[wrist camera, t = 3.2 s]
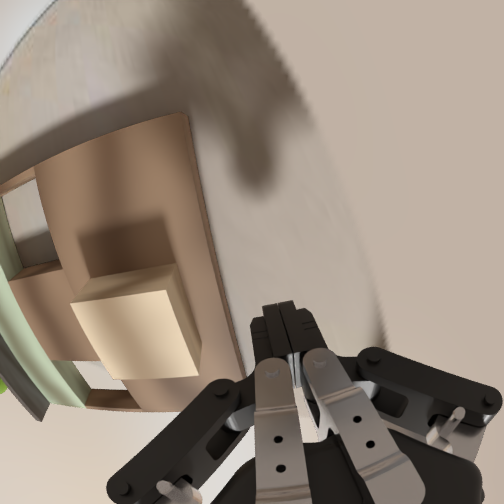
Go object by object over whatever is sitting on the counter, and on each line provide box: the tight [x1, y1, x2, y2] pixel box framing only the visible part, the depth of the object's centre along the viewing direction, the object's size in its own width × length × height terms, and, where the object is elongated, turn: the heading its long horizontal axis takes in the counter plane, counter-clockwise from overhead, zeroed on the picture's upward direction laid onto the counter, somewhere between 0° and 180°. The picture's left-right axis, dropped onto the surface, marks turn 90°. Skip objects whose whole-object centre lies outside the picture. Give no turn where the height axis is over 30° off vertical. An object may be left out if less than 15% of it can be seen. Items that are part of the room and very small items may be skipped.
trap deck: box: [0, 112, 247, 422], centre depth 16 cm, size 24×22×6 cm
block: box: [70, 263, 202, 380], centre depth 15 cm, size 6×6×3 cm
